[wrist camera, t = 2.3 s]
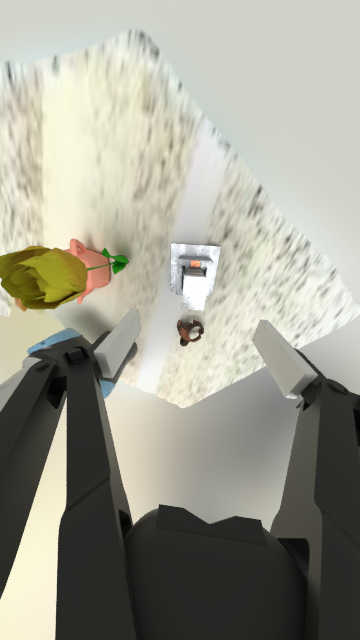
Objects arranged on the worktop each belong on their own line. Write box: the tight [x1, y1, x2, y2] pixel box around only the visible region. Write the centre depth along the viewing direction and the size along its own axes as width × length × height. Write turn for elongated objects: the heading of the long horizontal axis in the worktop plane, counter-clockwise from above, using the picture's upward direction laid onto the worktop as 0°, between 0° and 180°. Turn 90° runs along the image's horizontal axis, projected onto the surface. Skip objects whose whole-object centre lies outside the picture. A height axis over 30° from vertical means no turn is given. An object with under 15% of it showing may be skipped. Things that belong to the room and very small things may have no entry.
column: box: [182, 266, 208, 311], centre depth 32 cm, size 4×6×21 cm
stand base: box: [171, 243, 221, 297], centre depth 37 cm, size 14×14×12 cm
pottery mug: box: [177, 319, 204, 346], centre depth 52 cm, size 12×10×8 cm
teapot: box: [64, 239, 110, 304], centre depth 40 cm, size 12×18×10 cm, turn 167°
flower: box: [0, 246, 129, 309], centre depth 29 cm, size 9×8×30 cm
